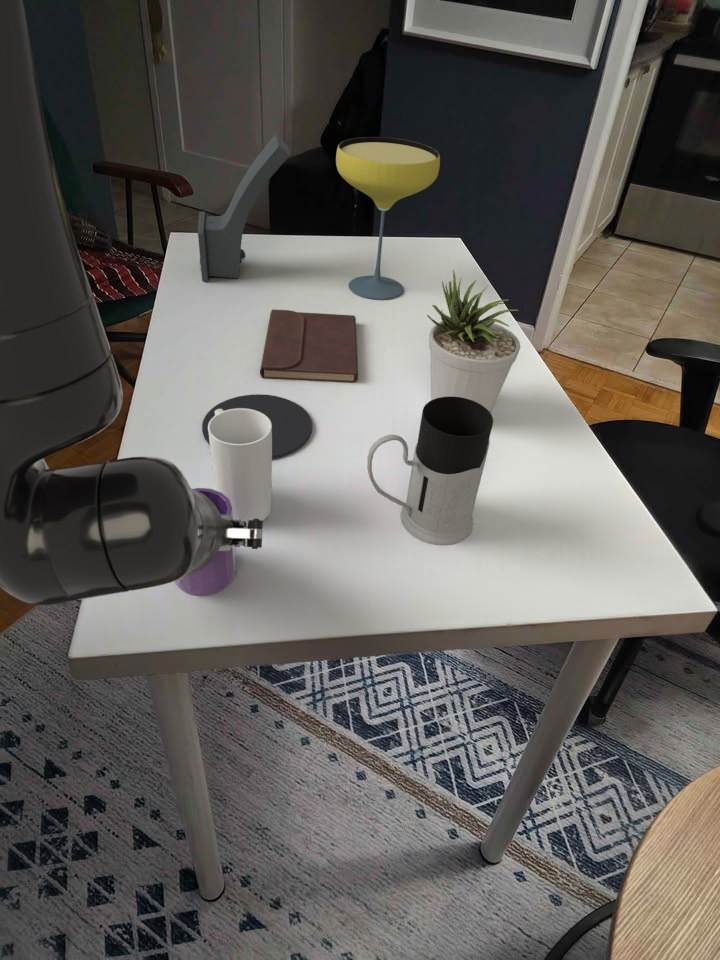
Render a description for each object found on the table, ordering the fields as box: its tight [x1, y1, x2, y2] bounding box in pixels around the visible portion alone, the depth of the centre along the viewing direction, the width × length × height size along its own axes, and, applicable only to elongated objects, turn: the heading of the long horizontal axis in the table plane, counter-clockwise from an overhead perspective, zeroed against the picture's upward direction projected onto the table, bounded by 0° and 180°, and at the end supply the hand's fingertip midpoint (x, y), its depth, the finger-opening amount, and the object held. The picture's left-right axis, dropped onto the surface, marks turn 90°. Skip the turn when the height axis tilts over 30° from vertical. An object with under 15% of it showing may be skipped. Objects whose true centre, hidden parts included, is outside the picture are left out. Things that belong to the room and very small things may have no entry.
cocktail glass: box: [335, 136, 441, 301], centre depth 119 cm, size 18×18×25 cm
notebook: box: [259, 309, 359, 383], centre depth 106 cm, size 15×20×2 cm
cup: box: [174, 487, 237, 596], centre depth 66 cm, size 6×6×9 cm
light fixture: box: [197, 134, 291, 282], centre depth 121 cm, size 11×17×24 cm, turn 99°
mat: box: [201, 393, 313, 460], centre depth 89 cm, size 15×15×1 cm
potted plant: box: [426, 269, 521, 413], centre depth 90 cm, size 13×14×20 cm
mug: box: [208, 408, 273, 522], centre depth 74 cm, size 10×7×12 cm, turn 35°
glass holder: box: [366, 396, 494, 546], centre depth 72 cm, size 9×14×15 cm, turn 111°
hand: (203, 531), depth 67 cm, fingers closed on cup, 6 cm apart
